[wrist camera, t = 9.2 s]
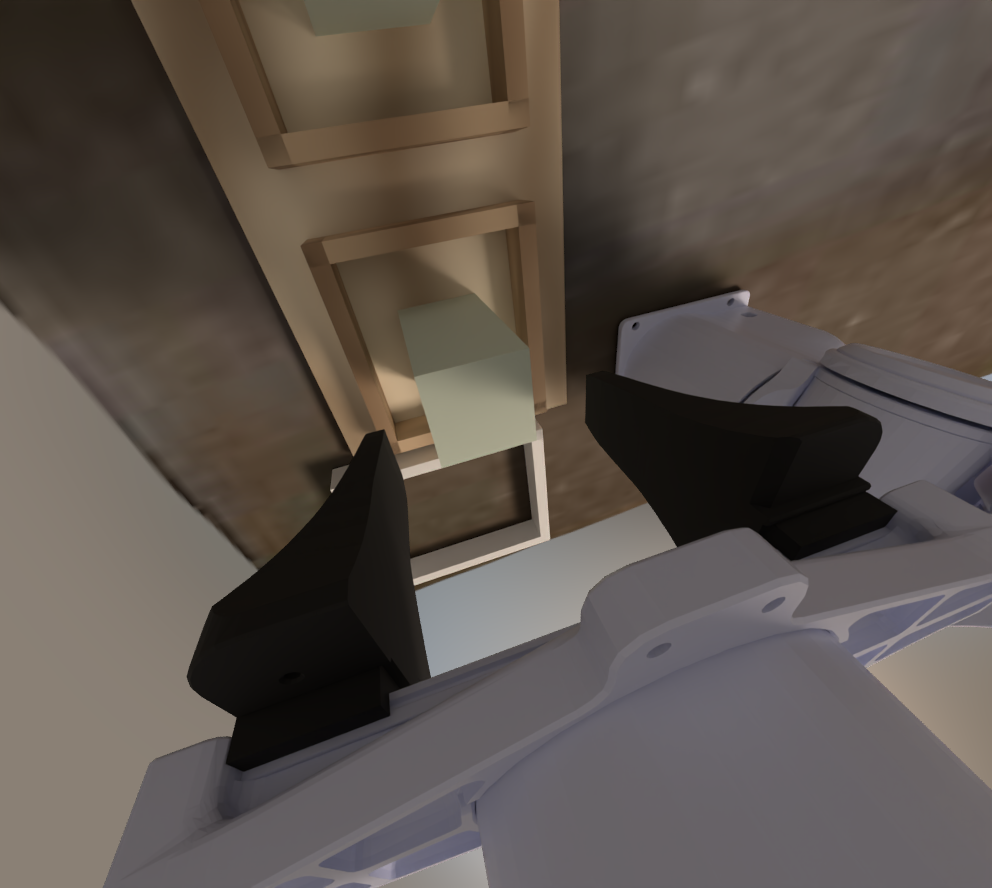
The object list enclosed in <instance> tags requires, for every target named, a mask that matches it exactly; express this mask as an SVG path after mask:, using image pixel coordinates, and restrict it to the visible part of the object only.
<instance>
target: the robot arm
mask: <svg viewBox="0 0 992 888" xmlns="http://www.w3.org/2000/svg"><path fill="white" fill-rule="evenodd" d="M749 298H750V293H749V291H747V290H739V291H735V292H731V293H727V294H723V295H719V296H715V297H711V298H707V299H703V300H699V301H695V302H691V303H687V304H683V305H679V306H675V307H671V308H667V309H663V310H659V311H655V312H651V313H647V314H643V315H639V316H635V317H631V318H627V319H624V320H623V321H622V322H621V323H620V325H619V331H618V344H617V358H616V372H615V374H613V373H609V372H604V371H601V372H597V373H593V374H589V375H586V415H585V423H586V425H587V426H588V428H589V430H590V431H591V433H592V435H593V436H594V438H595V439H596V441H597V442H598V443H599V445H600V446H601V447H602V448H603V449H604V451H605V452H606V453H607V454H608V455H609V456H610V457H611V459H612V460H613V461H614V462H615V463H616V464H617V465H618V466H619V468H620V469H621V470H622V471H623V472H624V473H625V474H626V475H627V477H628V478H629V479H630V480H631V481H632V482H633V483H634V484H635V486H636V487H637V488H638V489H639V491H640V492H641V493H642V495H643V496H644V497H645V499H646V500H647V502H648V503H649V505H650V506H651V507H652V509H653V510H654V512H655V513H656V515H657V516H658V518H659V519H660V521H661V522H662V524H663V525H664V527H665V528H666V530H667V531H668V533H669V535H670V536H671V538H672V539H673V541H674V543H675V544H676V546H677V548H674V549H671V550H668V551H665V552H663V553H660V554H657V555H654V556H651V557H649V558H646V559H643V560H640V561H637V562H634V563H632V564H629V565H626V566H624V567H622V568H621V569H618V570H616V571H615V572H613V573H611V574H609V575H607V576H605V577H604V578H603V579H602V580H601V581H600V582H599V583H597V584H596V585H595V586H594V587H593V588H592V589H591V590H590V591H589V592H588V595H587V597H586V599H585V602H584V604H583V607H582V609H581V622H580V623H577V624H574V625H571V626H569V627H566V628H563V629H561V630H558V631H555V632H553V633H550V634H547V635H545V636H542V637H539V638H537V639H534V640H531V641H529V642H526V643H523V644H520V645H518V646H515V647H512V648H510V649H507V650H504V651H502V652H499V653H496V654H494V655H491V656H488V657H486V658H483V659H480V660H478V661H475V662H472V663H470V664H467V665H464V666H462V667H459V668H456V669H454V670H451V671H448V672H445V673H443V674H440V675H437V676H435V677H432V678H431V676H430V671H429V665H428V661H427V656H426V650H425V645H424V639H423V634H422V629H421V624H420V618H419V612H418V606H417V601H416V595H415V589H414V582H413V576H412V570H411V561H410V546H409V526H408V507H407V497H406V491H405V486H404V481H403V476H402V473H401V470H400V468H399V465H398V463H397V460H396V458H395V455H394V452H393V450H392V447H391V445H390V442H389V440H388V437H387V435H386V432H385V429H382V430H379V431H375V432H371V433H367V434H365V436H364V438H363V439H362V441H361V443H360V445H359V447H358V449H357V451H356V453H355V455H354V457H353V459H352V460H351V462H350V464H349V466H348V468H347V469H346V471H345V473H344V475H343V476H342V478H341V480H340V481H339V483H338V484H337V486H336V487H335V489H334V490H333V492H332V493H331V495H330V496H329V498H328V499H327V500H326V502H325V503H324V504H323V506H322V507H321V508H320V509H319V510H318V512H317V513H316V514H315V515H314V517H313V518H312V519H311V520H310V521H309V522H308V523H307V524H306V525H305V526H304V528H303V529H302V530H301V531H300V532H299V533H298V534H297V535H296V536H295V537H294V538H293V539H292V540H291V541H290V542H289V543H288V544H287V545H286V546H285V547H284V548H283V549H282V550H281V551H280V552H279V553H278V554H277V555H275V556H274V557H273V558H272V559H271V560H270V561H269V562H268V563H266V564H265V565H264V566H263V567H262V568H261V569H260V570H258V571H257V572H256V573H255V574H254V575H252V576H251V577H250V578H249V579H247V580H246V581H245V582H243V583H242V584H241V585H240V586H239V587H237V588H236V589H235V590H233V591H232V592H231V593H229V594H228V595H227V596H225V597H224V598H223V599H221V600H220V601H219V602H217V603H216V604H215V605H213V606H212V608H211V610H210V612H209V615H208V618H207V620H206V622H205V625H204V627H203V630H202V633H201V636H200V638H199V641H198V644H197V647H196V650H195V652H194V655H193V658H192V661H191V664H190V666H189V670H188V674H187V679H188V682H189V685H190V687H191V688H192V689H193V690H194V691H196V692H197V693H198V694H199V695H200V696H201V697H203V698H205V699H206V700H208V701H210V702H211V703H213V704H215V705H216V706H218V707H220V708H222V709H223V710H225V711H227V712H228V713H230V714H232V715H233V716H235V717H237V719H236V723H235V727H234V731H233V735H232V737H228V736H226V737H216V738H212V739H208V740H205V741H202V742H200V743H197V744H194V745H192V746H189V747H186V748H183V749H180V750H178V751H175V752H172V753H170V754H167V755H164V756H162V757H159V758H156V759H155V760H153V761H152V762H151V763H150V764H149V766H148V769H147V771H146V774H145V777H144V779H143V782H142V785H141V787H140V790H139V793H138V795H137V798H136V801H135V803H134V806H133V809H132V811H131V814H130V817H129V819H128V822H127V825H126V827H125V830H124V833H123V836H122V838H121V841H120V843H119V846H118V849H117V851H116V854H115V857H114V859H113V862H112V865H111V867H110V870H109V873H108V875H107V878H106V881H105V883H104V886H103V888H377V887H380V886H383V885H385V884H388V883H390V882H393V881H396V880H398V879H400V878H403V877H406V876H409V875H411V874H414V873H416V872H419V871H421V870H424V869H427V868H429V867H432V866H434V865H437V864H440V863H442V862H445V861H447V860H450V859H453V858H455V857H458V856H460V855H463V854H466V853H468V852H471V851H473V850H476V849H479V848H481V847H482V850H483V856H484V862H485V867H486V873H487V879H488V885H489V888H992V790H991V789H990V788H989V787H988V786H987V785H986V784H985V783H984V782H983V781H982V780H981V779H980V778H979V777H978V776H977V775H976V774H974V772H972V770H971V769H970V768H968V767H967V766H966V765H965V764H964V763H963V762H962V761H961V760H960V759H959V758H958V757H957V756H956V755H955V754H954V753H953V752H952V751H951V750H950V749H949V748H948V747H947V746H946V745H945V744H944V743H943V742H942V741H941V740H940V739H938V738H937V737H936V736H935V735H934V734H933V733H932V732H931V731H930V730H929V729H928V728H927V727H926V726H925V725H924V724H923V723H922V722H921V721H920V720H919V719H918V718H917V717H916V716H915V715H914V714H913V713H912V712H911V711H909V709H907V707H905V706H904V705H903V704H902V703H901V702H900V701H899V700H898V699H897V698H896V697H895V696H894V695H893V694H892V693H891V692H890V691H889V690H888V689H887V688H886V687H885V686H884V685H883V684H882V683H881V682H880V681H879V680H878V679H877V678H876V677H875V676H873V675H872V674H871V673H870V672H869V671H868V670H867V669H866V668H867V667H869V666H871V665H873V664H875V663H877V662H879V661H881V660H883V659H885V658H886V657H889V656H890V655H892V654H894V653H896V652H898V651H900V650H902V649H904V648H906V647H908V646H910V645H912V644H914V643H916V642H918V641H920V640H922V639H924V638H926V637H928V636H930V635H932V634H934V633H936V632H938V631H940V630H942V629H944V628H946V627H948V626H955V627H987V628H992V382H991V381H988V380H985V379H982V378H979V377H976V376H973V375H970V374H967V373H963V372H960V371H957V370H954V369H951V368H947V367H944V366H941V365H937V364H934V363H931V362H927V361H924V360H920V359H917V358H913V357H910V356H906V355H903V354H899V353H896V352H892V351H888V350H884V349H880V348H876V347H872V346H868V345H863V344H858V343H851V344H848V345H845V344H844V343H843V342H842V341H841V340H839V339H838V338H837V337H835V336H834V335H832V334H830V333H828V332H826V331H823V330H820V329H817V328H814V327H811V326H807V325H804V324H801V323H798V322H795V321H792V320H789V319H786V318H782V317H779V316H776V315H773V314H770V313H767V312H764V311H761V310H757V309H754V308H751V307H748V306H747V305H748V301H749ZM728 301H729V302H728ZM634 323H636V325H635V327H634V328H632V326H633V324H634Z"/></svg>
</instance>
